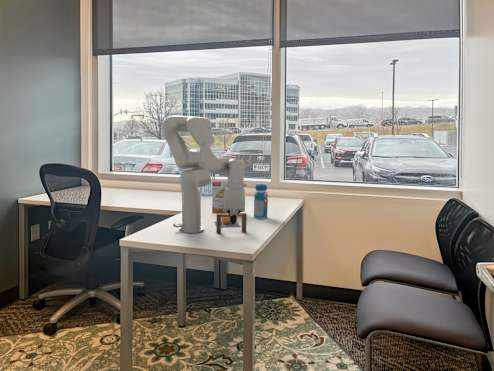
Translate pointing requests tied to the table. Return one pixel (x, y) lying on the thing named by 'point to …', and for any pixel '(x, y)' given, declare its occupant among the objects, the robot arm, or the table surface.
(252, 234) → the table surface
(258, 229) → the table surface
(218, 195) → the cracker box
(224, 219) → the ball
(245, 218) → the bridge
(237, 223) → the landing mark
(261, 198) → the beverage bottle
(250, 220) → the table surface
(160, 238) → the table surface
